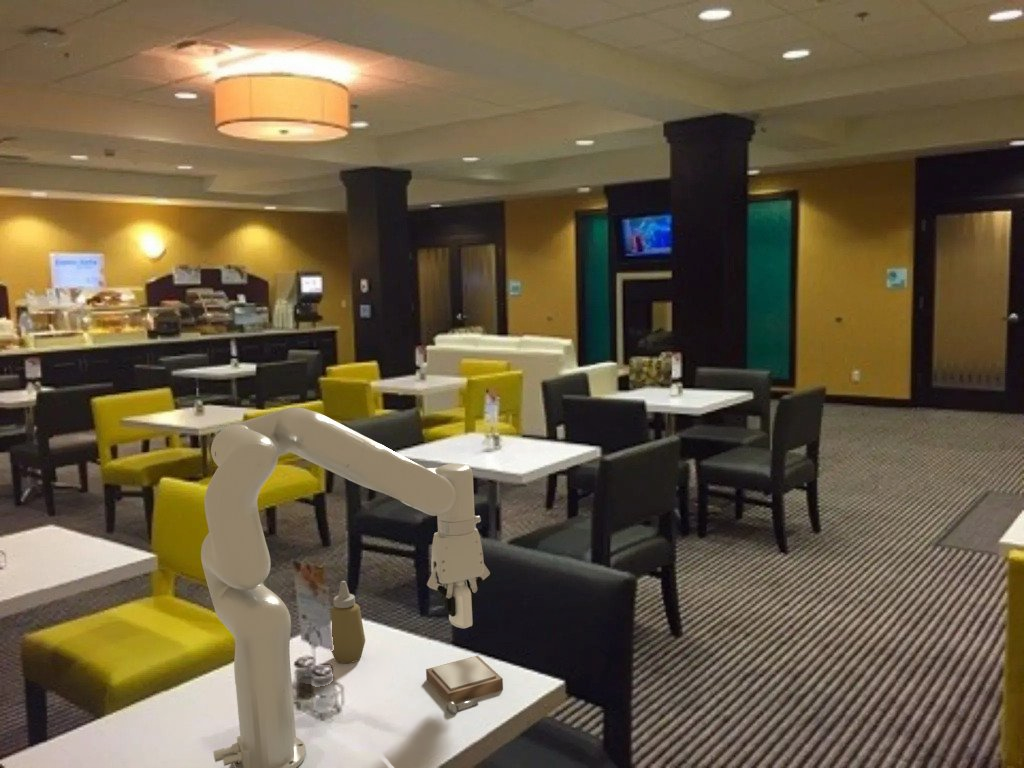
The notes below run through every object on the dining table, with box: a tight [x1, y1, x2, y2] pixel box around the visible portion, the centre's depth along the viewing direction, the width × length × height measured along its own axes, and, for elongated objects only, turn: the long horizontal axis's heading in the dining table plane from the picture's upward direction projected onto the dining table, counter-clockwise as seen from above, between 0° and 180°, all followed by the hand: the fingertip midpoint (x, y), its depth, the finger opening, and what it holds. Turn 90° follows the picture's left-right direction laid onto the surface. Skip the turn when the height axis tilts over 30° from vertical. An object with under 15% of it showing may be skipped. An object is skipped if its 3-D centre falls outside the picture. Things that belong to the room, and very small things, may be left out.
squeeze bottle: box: [329, 580, 366, 664], centre depth 193 cm, size 8×8×18 cm
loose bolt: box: [445, 697, 479, 715], centre depth 169 cm, size 6×3×3 cm, turn 121°
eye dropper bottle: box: [448, 580, 473, 629], centre depth 176 cm, size 4×6×12 cm
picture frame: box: [425, 655, 504, 704], centre depth 179 cm, size 12×12×3 cm
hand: (460, 611), depth 176 cm, fingers closed on eye dropper bottle, 3 cm apart
